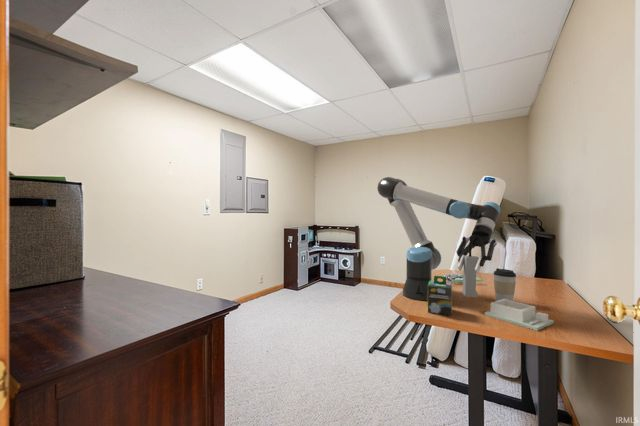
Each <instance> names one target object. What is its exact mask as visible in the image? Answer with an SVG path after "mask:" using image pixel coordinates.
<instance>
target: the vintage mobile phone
mask: <svg viewBox="0 0 640 426" xmlns="http://www.w3.org/2000/svg"><path fill="white" fill-rule="evenodd" d="M469 237H470V236H469ZM471 239H472V238H471V237H470V240H469V242H470V248H469V253H468V255H466V256H464V264H463V267H462V269H463V271H462V272H463V273H462V277H463V278H462V295H463V296H465V297H468V298H469V297H470V298H471V297H472V298H478V297H479V294H478V292H477V289H476V288H477V273H476V272H475V267H476V264H477V262H478V259H479V257H480V256H477V255H476V256H475V255H472V250H471Z"/></svg>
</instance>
